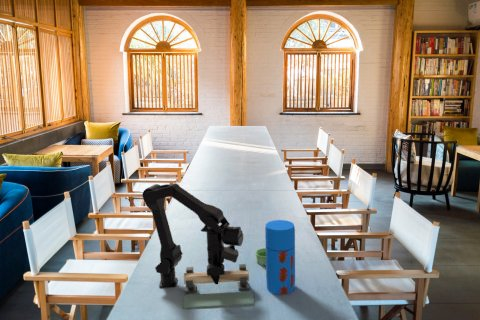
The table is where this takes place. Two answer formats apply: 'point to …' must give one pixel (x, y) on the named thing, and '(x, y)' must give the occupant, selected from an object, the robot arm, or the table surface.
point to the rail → (227, 277)
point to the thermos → (280, 256)
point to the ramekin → (261, 256)
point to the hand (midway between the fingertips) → (216, 281)
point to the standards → (192, 287)
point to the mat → (218, 299)
